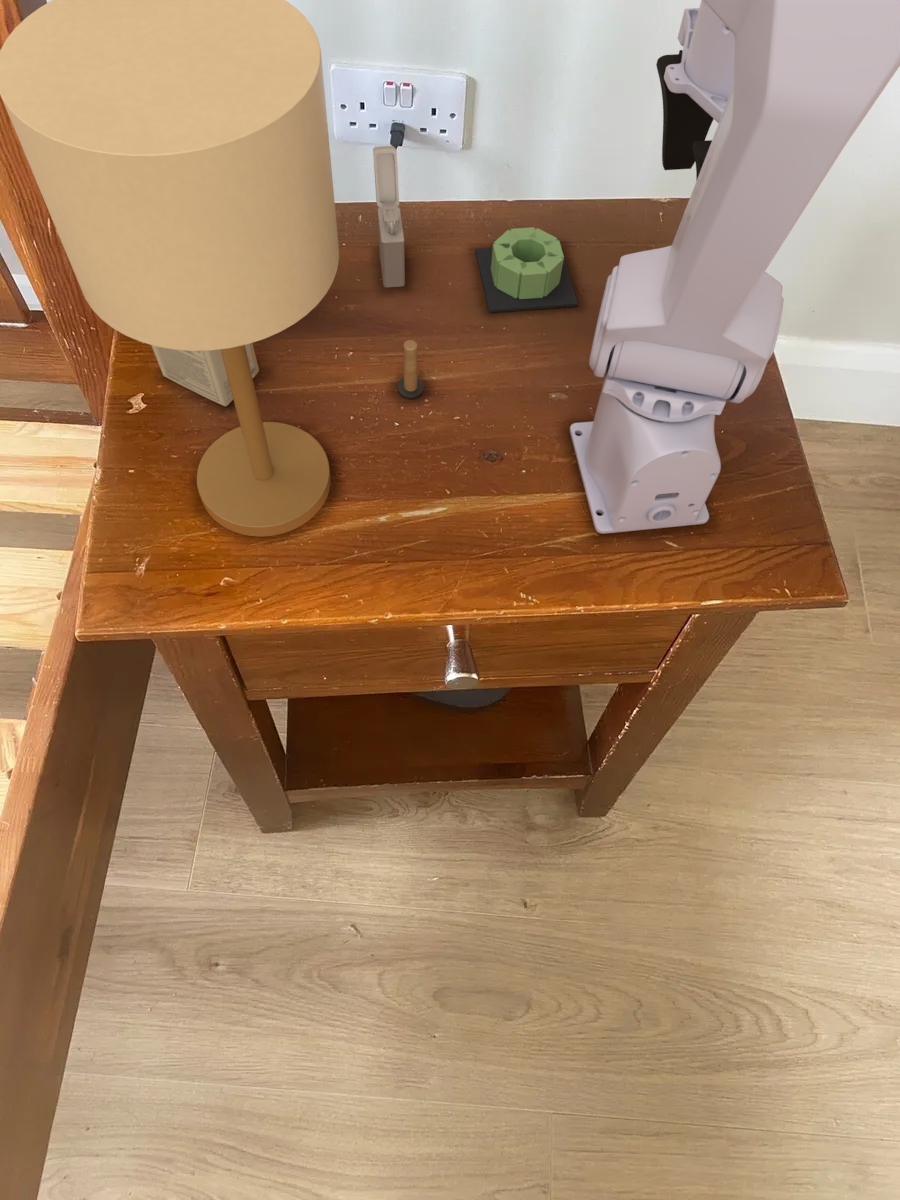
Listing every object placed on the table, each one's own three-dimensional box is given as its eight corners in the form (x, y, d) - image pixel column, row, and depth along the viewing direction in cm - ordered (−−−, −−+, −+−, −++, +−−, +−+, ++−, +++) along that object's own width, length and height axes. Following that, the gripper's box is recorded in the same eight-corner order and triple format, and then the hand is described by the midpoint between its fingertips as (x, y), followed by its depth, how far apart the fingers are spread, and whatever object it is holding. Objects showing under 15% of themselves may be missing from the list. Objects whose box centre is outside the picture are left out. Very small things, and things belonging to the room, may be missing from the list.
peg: (425, 398, 66) (426, 353, 62) (398, 400, 66) (397, 356, 62) (422, 378, 67) (422, 333, 63) (396, 380, 66) (394, 335, 63)
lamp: (367, 552, 59) (331, 145, 34) (169, 571, 58) (-24, 164, 32) (351, 404, 65) (311, -34, 40) (171, 418, 64) (12, -24, 39)
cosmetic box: (261, 372, 66) (232, 235, 56) (225, 411, 64) (187, 276, 54) (194, 339, 68) (153, 199, 57) (156, 376, 66) (107, 238, 55)
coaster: (577, 306, 71) (577, 303, 71) (488, 312, 70) (489, 310, 70) (559, 245, 74) (560, 242, 74) (475, 251, 74) (475, 248, 73)
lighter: (404, 286, 71) (403, 198, 64) (383, 287, 71) (380, 199, 64) (397, 227, 75) (395, 138, 68) (376, 228, 75) (372, 139, 68)
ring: (564, 296, 71) (568, 271, 69) (497, 301, 70) (500, 276, 68) (551, 251, 74) (555, 225, 71) (487, 255, 73) (489, 229, 71)
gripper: (656, -67, 54) (613, 140, 66) (723, 69, 48) (661, 274, 59) (765, -70, 55) (703, 135, 67) (847, 64, 48) (762, 267, 60)
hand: (690, 200), depth 63 cm, fingers open, 7 cm apart
